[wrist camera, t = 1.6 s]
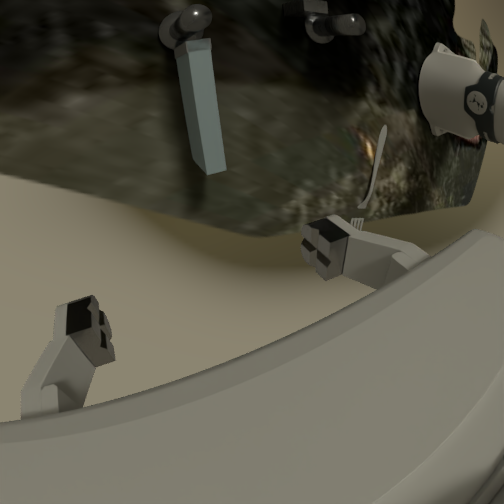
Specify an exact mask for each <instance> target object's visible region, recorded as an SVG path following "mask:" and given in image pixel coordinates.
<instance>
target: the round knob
mask: <svg viewBox="0 0 504 504" xmlns="http://www.w3.org/2000/svg"><path fill="white" fill-rule="evenodd" d="M211 20H212V13H211V11H210V10H209V9H208V8H207V7H206V6H204V5H200V4H195V5H191V6H189V7H187V8H186V9H185V10H184V11H179V12H175V13H172V14H170V15H168V16H167V17H166V18H165V19H164V20H163V21H162V23H161V24H160V26H159V30H158V35H159V39H160V41H161V42H162V44H163V45H164V46H166V47H167V48H169V49H172V50H174V49H175V48H177V47H178V46H180V45H181V44H183V43H184V42H186V41H192V40H200V39H201V38H202V36H203V32H204V28H206V27H207V26H208V25H209V24H210V22H211Z"/></svg>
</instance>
